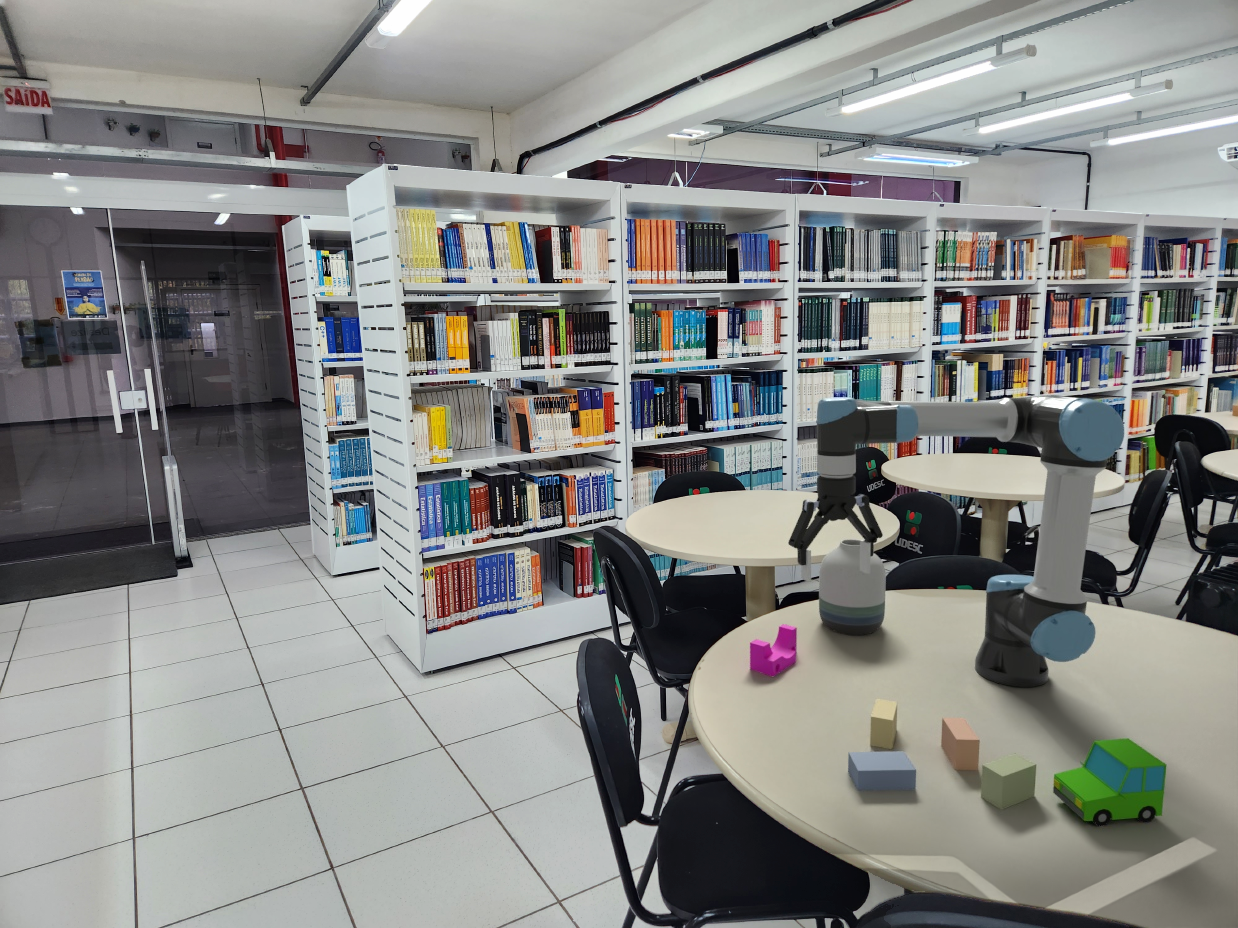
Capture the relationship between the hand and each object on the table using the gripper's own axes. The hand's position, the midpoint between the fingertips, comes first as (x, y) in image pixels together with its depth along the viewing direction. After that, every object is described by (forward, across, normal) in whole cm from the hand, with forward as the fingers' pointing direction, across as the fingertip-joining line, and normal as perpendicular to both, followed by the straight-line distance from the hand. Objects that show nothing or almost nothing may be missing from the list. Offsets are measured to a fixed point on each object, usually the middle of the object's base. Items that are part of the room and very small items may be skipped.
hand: (835, 575), depth 158 cm
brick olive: (+30, -11, +37) cm, 48 cm away
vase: (+30, -28, -38) cm, 56 cm away
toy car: (+30, -23, +45) cm, 58 cm away
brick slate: (+29, +6, +26) cm, 40 cm away
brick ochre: (+29, -3, +13) cm, 32 cm away
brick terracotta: (+30, -11, +24) cm, 40 cm away
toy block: (+30, +1, -24) cm, 38 cm away
